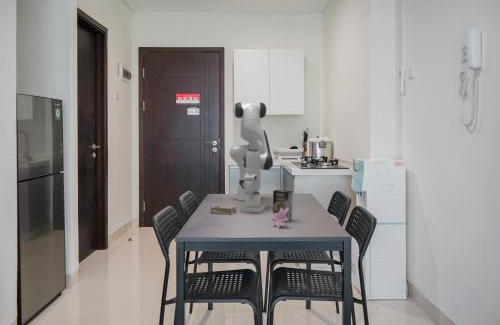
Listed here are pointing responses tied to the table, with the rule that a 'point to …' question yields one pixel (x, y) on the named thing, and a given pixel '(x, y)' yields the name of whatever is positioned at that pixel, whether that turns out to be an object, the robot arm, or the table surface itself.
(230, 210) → the bay
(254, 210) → the tray
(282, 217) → the lily
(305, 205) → the table surface
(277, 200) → the coffee box
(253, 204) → the white block
